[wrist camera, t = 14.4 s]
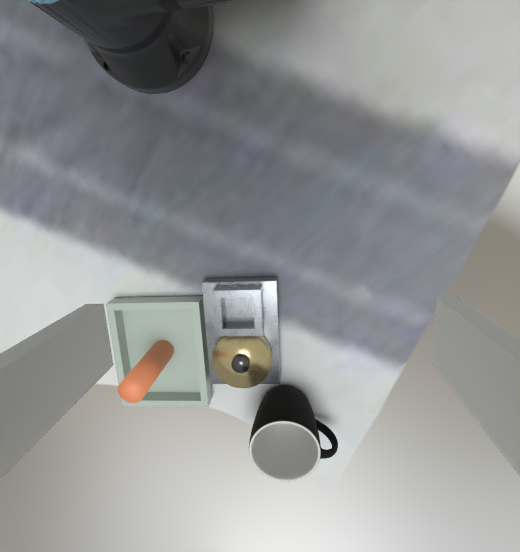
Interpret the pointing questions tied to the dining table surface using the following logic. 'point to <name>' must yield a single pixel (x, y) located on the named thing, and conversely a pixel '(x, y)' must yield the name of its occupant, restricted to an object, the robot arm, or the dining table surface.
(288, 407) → the mug
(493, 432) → the robot arm
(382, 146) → the dining table surface
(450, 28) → the dining table surface
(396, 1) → the dining table surface
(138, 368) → the pin
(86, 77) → the dining table surface
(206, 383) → the tray
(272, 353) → the pulley block
